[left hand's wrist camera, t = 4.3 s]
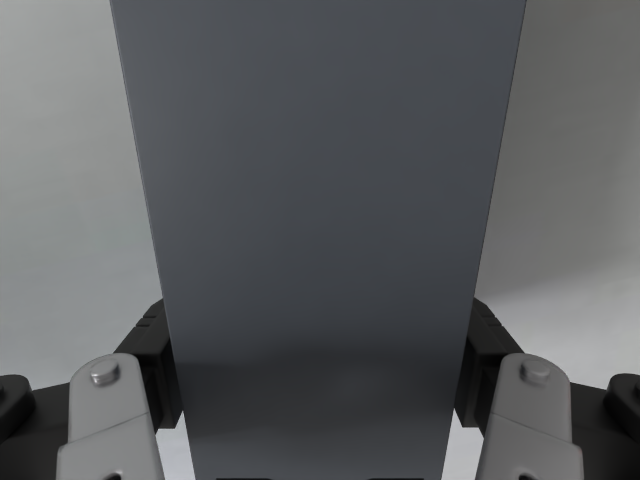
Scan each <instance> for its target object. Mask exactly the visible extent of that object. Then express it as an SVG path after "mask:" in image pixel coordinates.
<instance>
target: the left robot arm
mask: <svg viewBox="0 0 640 480" xmlns="http://www.w3.org/2000/svg"><path fill="white" fill-rule="evenodd" d="M454 409H455V411H456V413H457V416H458V418H459V420H460V423H461V425H462V427H479V429H480V431H481V433H482V435H483V438H484V441H483V445H482V450H481V454H480V459H479V463H478V468H477V472H476V477H475V480H640V375H636V374H627V373H623V374H617V375H614V376H613V377H612V378H611V379H610V382H609V385H608V387H607V390H604V389H599V388H595V387H590V386H585V385H581V384H576V383H572V382H570V381H569V379H568V377H567V375H566V374H565V373H564V372H563V371H562V370H561V369H560V368H559V367H558V366H556V365H555V364H553V363H552V362H550V361H548V360H546V359H543V358H541V357H538V356H535V355H531V354H526V353H524V352H523V350H522V349H521V348H520V347H519V345H518V344H517V343H516V342H515V340H514V339H513V338H512V337H511V335H510V334H509V333H508V332H507V330H506V329H505V328H504V327H503V326H502V324H501V323H500V321H499V320H498V319H497V318H495V315H494V314H493V313H492V311H491V310H490V309H489V308H488V306H487V305H485V304H484V303H482V302H481V301H479V300H478V299H476V298H475V297H474V298H473V304H472V309H471V315H470V321H469V326H468V332H467V337H466V343H465V349H464V354H463V360H462V366H461V371H460V377H459V382H458V388H457V394H456V399H455V405H454ZM182 411H183V406H182V401H181V395H180V390H179V384H178V379H177V373H176V367H175V362H174V356H173V351H172V345H171V339H170V334H169V328H168V323H167V317H166V312H165V306H164V300H163V299H161V300H159V301H158V302H156V303H155V304H153V305H152V306H151V307H150V308H149V309H148V310H147V312H146V313H145V314H144V315H143V318H141V319H140V320H139V322H138V323H137V324H136V327H134V328H133V329H132V330H131V332H130V333H129V334H128V335H127V336H126V338H125V339H124V340H123V341H122V343H121V344H120V345H119V346H118V348H117V349H116V350H115V351H114V353H113V354H109V355H105V356H102V357H99V358H97V359H94V360H92V361H90V362H88V363H87V364H85V365H84V366H82V367H81V368H80V369H79V370H78V371H77V372H76V373H75V374H74V375H73V377H72V379H71V381H70V382H69V383H65V384H61V385H56V386H52V387H47V388H42V389H38V390H33V391H32V389H31V387H30V384H29V381H28V380H27V378H26V377H24V376H21V375H4V376H0V480H165V477H164V472H163V468H162V463H161V459H160V454H159V450H158V446H157V441H156V437H155V435H156V433H157V431H158V429H175V427H176V425H177V422H178V420H179V418H180V415H181V413H182ZM216 480H272V479H268V478H216ZM368 480H424V478H372V479H368Z"/></svg>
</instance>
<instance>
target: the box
mask: <svg viewBox="0 0 640 480" xmlns="http://www.w3.org/2000/svg"><path fill="white" fill-rule="evenodd" d="M526 1H527V0H110V5H111V10H112V16H113V22H114V27H115V33H116V38H117V44H118V50H119V55H120V61H121V66H122V72H123V77H124V83H125V89H126V94H127V100H128V105H129V111H130V116H131V122H132V128H133V133H134V139H135V144H136V150H137V155H138V161H139V167H140V172H141V178H142V183H143V189H144V194H145V200H146V206H147V211H148V217H149V222H150V228H151V234H152V239H153V245H154V250H155V256H156V261H157V267H158V273H159V278H160V284H161V289H162V295H163V300H164V306H165V312H166V317H167V323H168V328H169V334H170V339H171V345H172V351H173V356H174V362H175V367H176V373H177V379H178V384H179V390H180V395H181V401H182V406H183V412H184V418H185V423H186V429H187V434H188V440H189V445H190V451H191V457H192V462H193V468H194V473H195V479H196V480H216V478H268V479H272V480H368V479H372V478H424V480H441V478H442V472H443V467H444V461H445V455H446V450H447V444H448V438H449V433H450V427H451V422H452V416H453V410H454V405H455V399H456V394H457V388H458V382H459V377H460V371H461V366H462V360H463V354H464V349H465V343H466V337H467V332H468V326H469V321H470V315H471V309H472V304H473V298H474V293H475V287H476V281H477V276H478V270H479V264H480V259H481V253H482V248H483V242H484V236H485V231H486V225H487V220H488V214H489V208H490V203H491V197H492V192H493V186H494V180H495V175H496V169H497V163H498V158H499V152H500V147H501V141H502V135H503V130H504V124H505V119H506V113H507V107H508V102H509V96H510V91H511V85H512V79H513V74H514V68H515V62H516V57H517V51H518V46H519V40H520V34H521V29H522V23H523V18H524V12H525V6H526Z"/></svg>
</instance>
